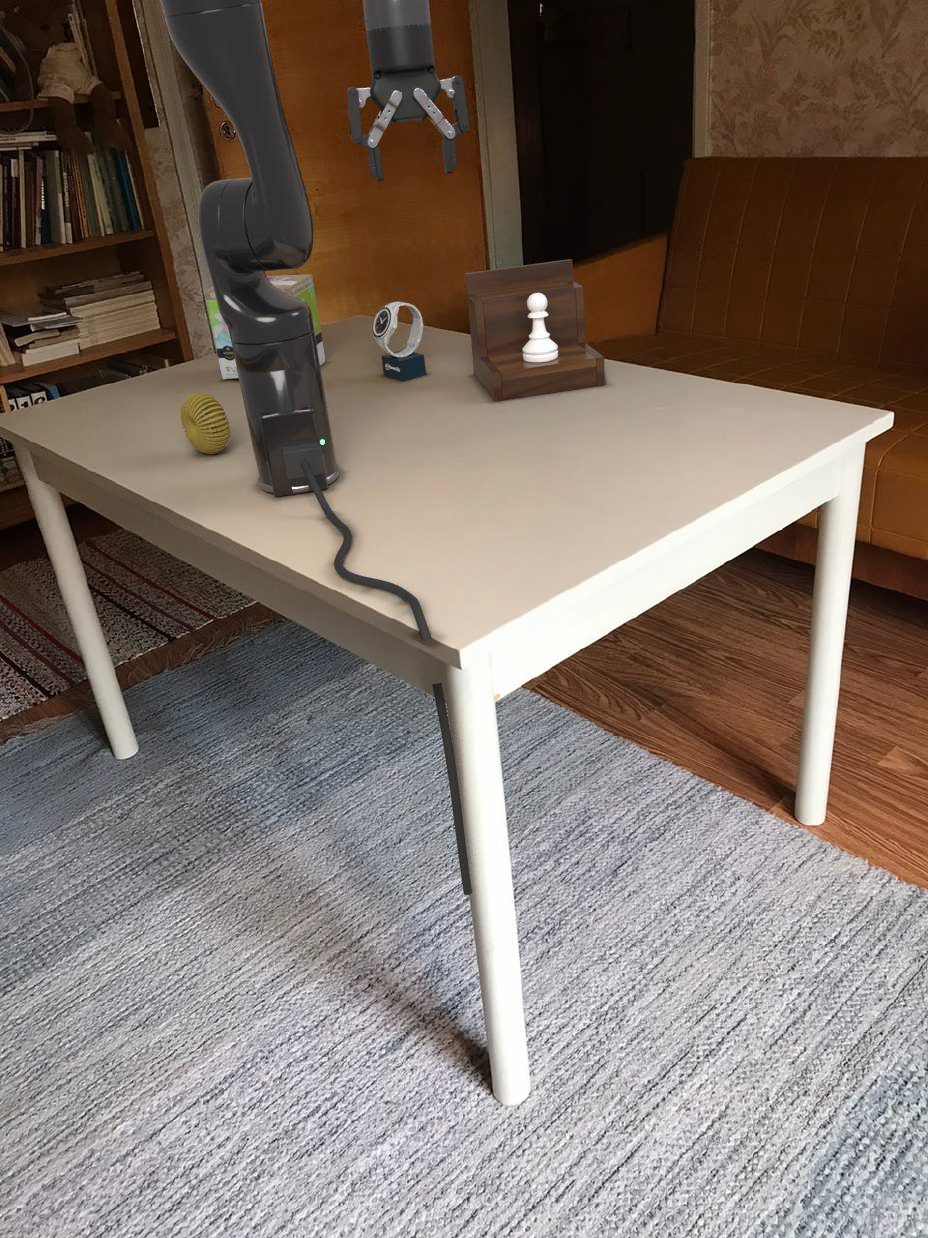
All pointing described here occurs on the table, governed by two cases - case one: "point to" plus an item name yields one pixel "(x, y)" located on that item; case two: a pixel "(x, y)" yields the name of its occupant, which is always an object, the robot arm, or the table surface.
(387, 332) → the watch
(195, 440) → the sculpture
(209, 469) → the table surface
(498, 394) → the shelf
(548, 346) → the chess pawn
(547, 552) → the table surface
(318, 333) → the tea box
